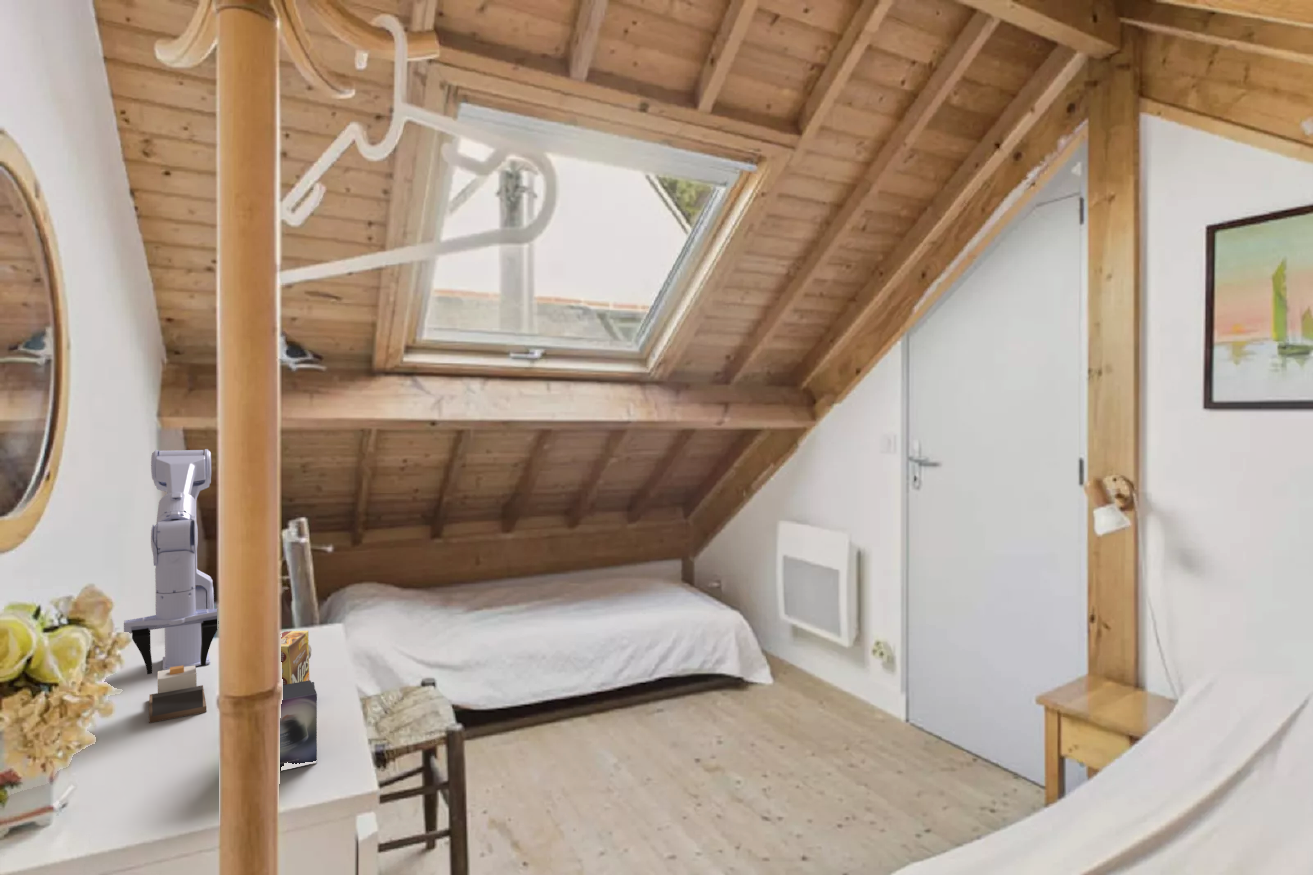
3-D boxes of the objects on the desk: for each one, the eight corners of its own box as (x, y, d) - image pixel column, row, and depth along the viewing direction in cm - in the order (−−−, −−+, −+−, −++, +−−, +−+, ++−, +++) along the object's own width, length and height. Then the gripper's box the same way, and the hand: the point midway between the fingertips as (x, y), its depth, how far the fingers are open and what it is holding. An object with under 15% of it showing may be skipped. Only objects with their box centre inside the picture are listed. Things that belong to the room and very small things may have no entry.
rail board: (149, 700, 128) (149, 677, 128) (202, 690, 132) (202, 668, 132) (148, 723, 118) (148, 698, 118) (206, 711, 123) (206, 688, 122)
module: (158, 699, 125) (157, 666, 125) (195, 693, 128) (195, 660, 128) (158, 709, 121) (157, 674, 121) (196, 702, 124) (196, 668, 124)
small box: (233, 785, 98) (232, 708, 98) (230, 766, 103) (229, 693, 103) (318, 764, 104) (317, 692, 103) (311, 747, 109) (310, 678, 109)
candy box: (291, 746, 109) (290, 646, 109) (261, 748, 109) (260, 647, 108) (311, 722, 118) (310, 629, 118) (284, 724, 117) (282, 630, 117)
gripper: (122, 600, 117) (123, 683, 117) (226, 588, 125) (227, 666, 126) (124, 591, 123) (125, 671, 123) (223, 581, 131) (224, 655, 131)
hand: (176, 668), depth 125 cm, fingers open, 7 cm apart
